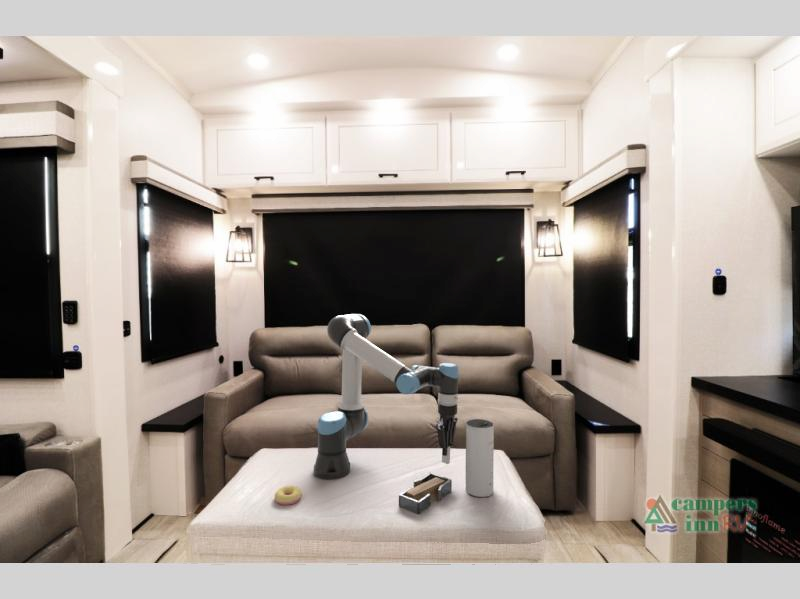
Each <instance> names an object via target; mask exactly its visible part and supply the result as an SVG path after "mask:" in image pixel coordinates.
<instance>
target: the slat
mask: <svg viewBox="0 0 800 599" xmlns="http://www.w3.org/2000/svg"><path fill="white" fill-rule="evenodd" d="M443 483H445V481H444V480H442V479H440V478H437V477H436V478H433V479H431V480H429V481H427V482H425V483H423V484H421V485H418V486H416V487H414V486H413V487H412V489H410V490H408V491H406V496H407V497H409V498H412V499H415V500H417V501H419V500H421V499H422V498H423V497H425V496H426V495H427V494H430V502H431V501H432V500H434V499H437V498H438V490H439V487H440V486H441V485H442V484H443Z"/></svg>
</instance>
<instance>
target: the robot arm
mask: <svg viewBox="0 0 800 599" xmlns="http://www.w3.org/2000/svg"><path fill="white" fill-rule="evenodd" d="M371 326H372V325H371V323H370V320H369V319H368V318H367V317H366V316H365V315H363V314H361V313H350V314H344V315H343V314H341V315H337V316H334V317H333V318H331V320H330V321H329V322H328V324H327V331H326V332H327V336H328V338H329V340H330V341H331V342H332V343H333V344H335V346H337V347H338V348H340V349H341V350H342V364H341V365H342V367H341V368H342V371H341V372H342V373H341V401H340V403H339V404H338V405H337V410H336V411H335V410H334V411H331V412H330V411H329V412H326V413H324V414H322V415H320V416H319V418H318V420H317V426H316V427H317V428H316V430H317V456H316V459H315V463H314V464H313V474H314V476H315V477H317V478H318V479H319V478H320V479H323V480H335V479H336V480H337V479H340V478H344V477H345V476H347V475H348V474H349V473H351V462H350V459H349V456H348V453H347V441H348V440H349V439H350V440H351V438H353V437H354V436H357V435H359V434H361V433H362V432H363V431H364V430H366V428H368V424H369V413H368V412H367V411H366V408H365V403H363V402H362V380H363V379H362V378H363V377H362V374H363V372H362V371H363V366H362V365H363V362H364V363H365V364H367V365H369V366H370V367H371V368H373V369H375V370H376V371H377V372H379V373H380V374H382V375H383V376H385V377H386V378H388V379H389V380H390V381H391V382H393V383H394V384H395V385H396V387H397V390H398V391H399V392H400V393H401V394H403V395H410V394H414V393H416V392H417V391H419V390H421V389H422V388H425V387H427V386H429V387H434V388H438V392H437V393H438V395H437V402H438V404H437V413H438V414H439V415H440V418H439V423H436V425H435V427H436V430H437V439H438V440H437V441H438V446H439V447H441V449H442V452H441V454H442V455H441V462H442V464H445V465H449V464H450V463H451V447H453V446H454V444H453V443H454V441H455V435H456V428H457V424H458V419H459V418H458V417H456V415H458V404H457V403H458V399H459V395H458V394H459V391H458V390H459V378H460V377H459V366H458V365H457V364H455V363H451V362H442V363H440V364H439V367H434V366H428V365H427V366H426V365H423V364H420V365H418V364H415V365H412V366H411V368H409V367H408V366H407V365H405V364H403V363H401V361H399V360H397V359H396V358H394V357H393V356H391V355H390V354H389V353H387V352H386V351H384V350H382V349H381V348H379V347H378V346H376V345H375V344H373V343H372V342H370V341H369V340H368V339H367V338H368V337H369V336H370V334H371V331H372V327H371Z"/></svg>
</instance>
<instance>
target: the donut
mask: <svg viewBox="0 0 800 599" xmlns="http://www.w3.org/2000/svg"><path fill="white" fill-rule="evenodd" d="M302 494H303V493H302V490H301V489H300V487H297V486H296V485H295V486H294V485H286V486H282V487H280V488H278V489H277V490H276V492H275V493H274V500H275V502H276V503H277V504H279V505H281V506H290V505H294V504H296V503H297V502H299V501H300V500H301V498H302Z"/></svg>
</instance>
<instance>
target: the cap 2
mask: <svg viewBox="0 0 800 599" xmlns="http://www.w3.org/2000/svg"><path fill="white" fill-rule="evenodd" d="M436 477H437V478H440V479H442V480H444V481H445V483H443V484H442V485H441V486H440V487H439V490H438V497H437V498H438V499H437V500H438V502H441V500H442V499H443V497H444V496H446V495H447V494H449V493H450V492H451V491H452V489H453V488H452V485H453V484H452V483H453V482H452V478H448V477H445V476H442V475H439V474H436V473H433V472H428V473H427V474H426V475H424V476H423V477H421V478H419V479H416V480H413V488H414V487H416V486H418V485H421V484H423V483H425V482H427V481H429V480H431V479H433V478H436Z"/></svg>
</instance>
